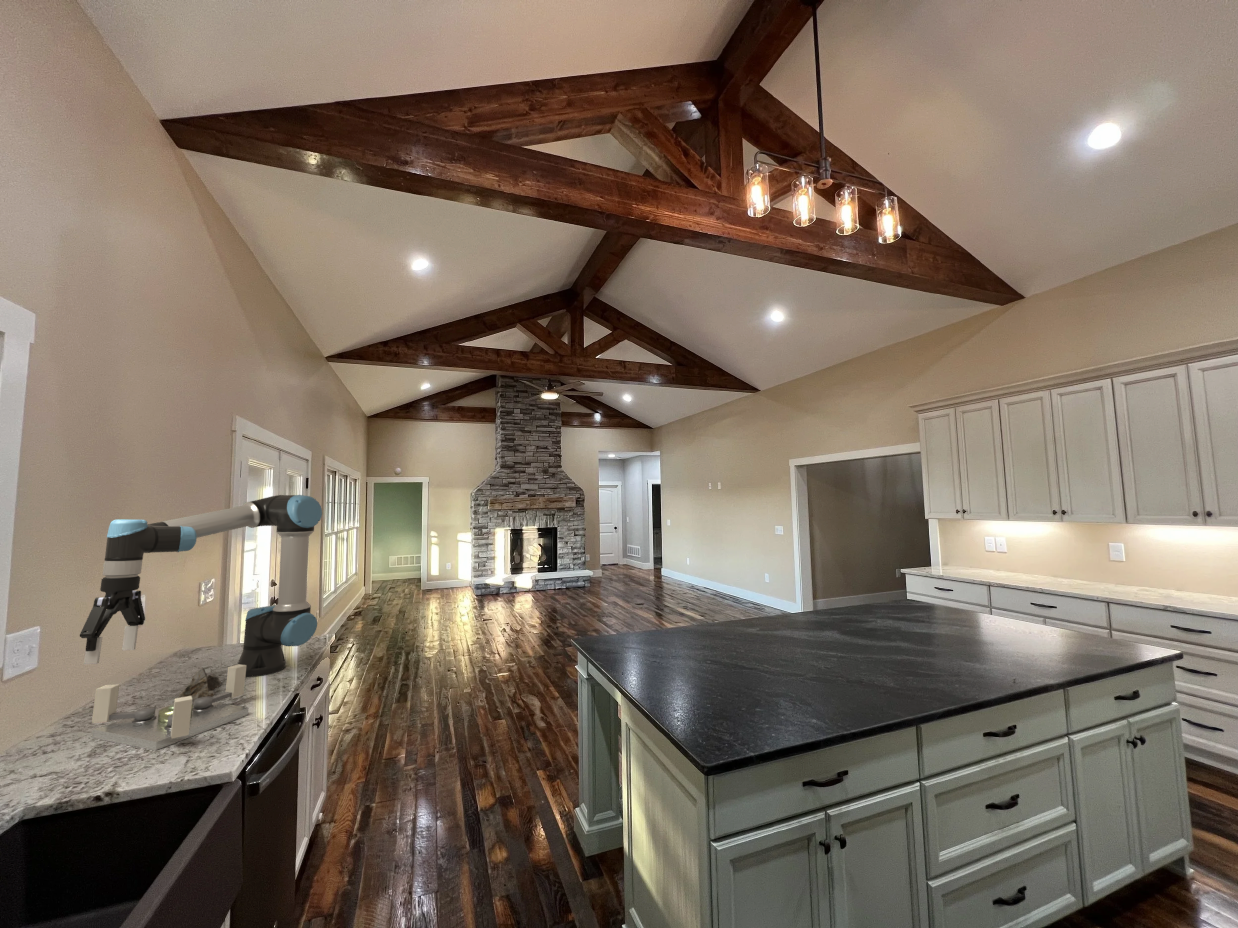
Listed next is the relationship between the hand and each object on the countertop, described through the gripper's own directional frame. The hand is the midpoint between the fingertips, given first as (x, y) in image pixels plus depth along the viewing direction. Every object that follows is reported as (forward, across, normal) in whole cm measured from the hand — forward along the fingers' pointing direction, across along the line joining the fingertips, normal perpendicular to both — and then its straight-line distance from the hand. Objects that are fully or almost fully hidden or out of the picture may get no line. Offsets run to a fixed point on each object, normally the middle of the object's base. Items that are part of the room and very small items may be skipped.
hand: (110, 656), depth 133 cm
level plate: (+19, 0, +16) cm, 25 cm away
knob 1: (+16, 0, +5) cm, 17 cm away
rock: (+19, -27, +10) cm, 35 cm away
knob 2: (+16, +10, +22) cm, 29 cm away
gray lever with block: (+16, -10, +22) cm, 29 cm away
